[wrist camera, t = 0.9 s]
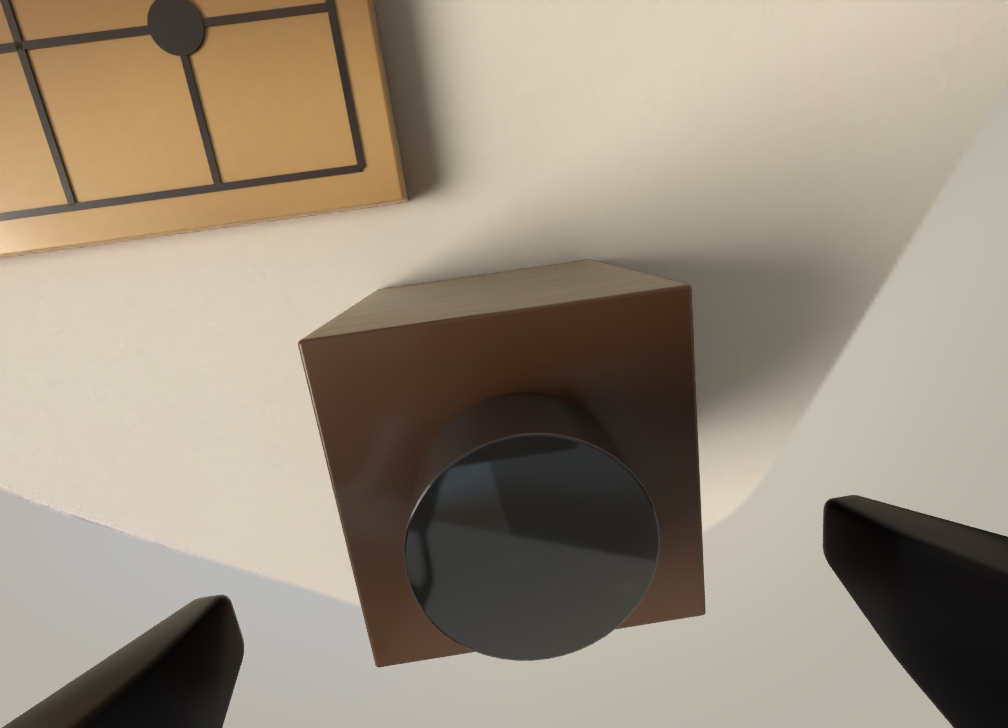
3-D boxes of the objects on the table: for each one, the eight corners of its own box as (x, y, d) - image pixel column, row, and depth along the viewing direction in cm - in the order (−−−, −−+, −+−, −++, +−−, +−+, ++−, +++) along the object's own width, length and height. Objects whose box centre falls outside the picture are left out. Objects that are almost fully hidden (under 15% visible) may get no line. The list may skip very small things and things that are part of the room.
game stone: (631, 565, 11) (668, 641, 9) (434, 597, 10) (427, 679, 9) (615, 377, 10) (652, 414, 8) (398, 409, 9) (380, 455, 8)
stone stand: (609, 456, 19) (707, 615, 11) (414, 486, 19) (375, 669, 11) (591, 258, 17) (692, 283, 9) (376, 289, 17) (295, 341, 9)
